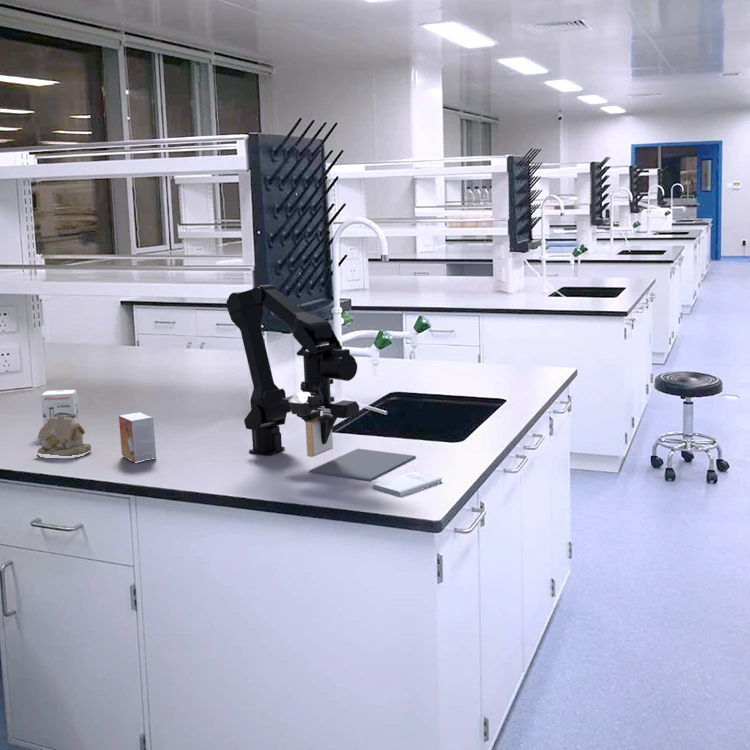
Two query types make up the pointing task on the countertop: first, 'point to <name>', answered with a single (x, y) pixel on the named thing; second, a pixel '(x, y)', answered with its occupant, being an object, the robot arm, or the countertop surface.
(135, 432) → the small box
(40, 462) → the countertop surface
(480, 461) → the countertop surface
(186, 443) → the countertop surface
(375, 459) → the mat
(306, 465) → the countertop surface
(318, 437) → the tile
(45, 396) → the ink box
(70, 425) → the ceramic model
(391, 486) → the external hard drive
